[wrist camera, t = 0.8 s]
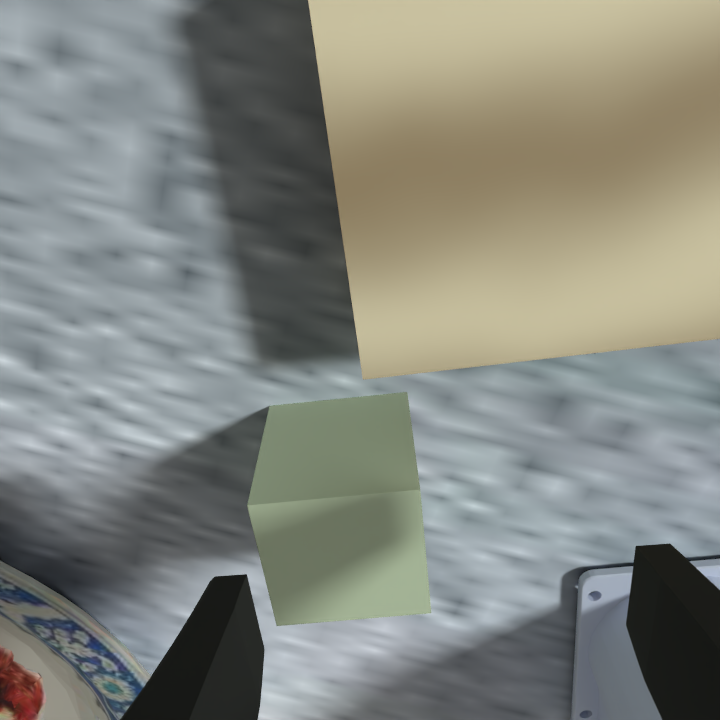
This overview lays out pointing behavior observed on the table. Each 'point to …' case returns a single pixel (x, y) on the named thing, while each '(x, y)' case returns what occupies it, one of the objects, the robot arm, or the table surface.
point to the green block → (340, 511)
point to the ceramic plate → (59, 658)
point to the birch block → (523, 175)
